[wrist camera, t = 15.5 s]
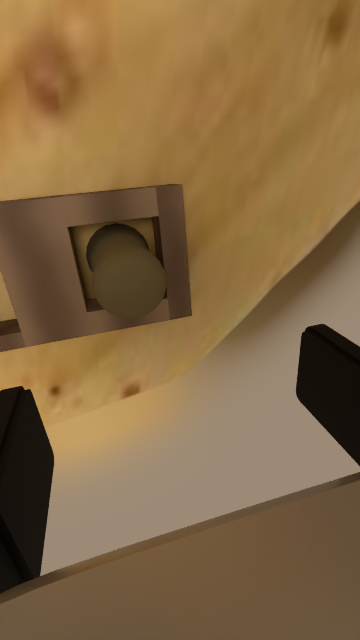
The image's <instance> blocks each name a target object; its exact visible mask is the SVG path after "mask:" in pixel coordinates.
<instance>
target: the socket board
mask: <svg viewBox="0 0 360 640" xmlns="http://www.w3.org/2000/svg"><path fill="white" fill-rule="evenodd" d="M146 217H152V222H153V230H154V239H155V248H156V256H157V259H158V260H159V261H160V263H161V265H162V267H163V269H164V271H165V276H166V289H165V294H164V296H163V298H162V301H161V303H160V304H159V305H158V306H157V307H156V308H155V309H154V310H153V311H152V312H150V313H149V314H147V315H145V316H143V317H139V318H135V319H123V318H120V317H117V316H114V315H112V314H110V313H109V312H108V311H106V310H105V309H104V308H103V307H102V306H101V305H100V304H99V302H98V301H97V299H96V298H93V299H87V298H86V294H85V289H84V285H83V280H82V276H81V271H80V267H79V262H78V258H77V253H76V249H75V245H74V240H73V236H72V231H71V226H80V225H88V224H96V223H104V222H113V221H121V220H129V219H138V218H146ZM0 270H1V273H2V276H3V279H4V282H5V285H6V288H7V291H8V294H9V297H10V300H11V303H12V306H13V309H14V312H15V315H16V318H17V319H12V320H7V321H1V322H0V352H3V351H8V350H13V349H18V348H24V347H29V346H34V345H40V344H45V343H50V342H55V341H61V340H66V339H71V338H77V337H82V336H87V335H92V334H98V333H103V332H108V331H114V330H119V329H124V328H129V327H135V326H140V325H145V324H151V323H156V322H161V321H166V320H172V319H177V318H182V317H187V316H192V310H191V297H190V283H189V270H188V256H187V243H186V229H185V216H184V203H183V189H182V185H180V184H168V185H158V186H148V187H138V188H129V189H119V190H109V191H99V192H89V193H79V194H69V195H59V196H49V197H39V198H29V199H19V200H9V201H0Z"/></svg>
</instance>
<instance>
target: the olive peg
mask: <svg viewBox="0 0 360 640" xmlns="http://www.w3.org/2000/svg"><path fill="white" fill-rule="evenodd" d="M86 258H87V261H88V265H89V268H90V269H91V271H92V272H93V279H92V288H93V291H94V295H95V298H96V299H97V301H98V302H99V304H100V305H101V306H102V307H103V308H104V309H105V310H106V311H108V312H109V313H110V314H112V315H114V316H117V317H120V318H123V319H135V318H139V317H143V316H145V315H147V314H149V313H150V312H152V311H153V310H154V309H155V308H156V307H157V306H158V305H159V304H160V303H161V301H162V298H163V296H164V294H165V289H166V276H165V271H164V269H163V267H162V265H161V263H160V261H159V260H158V259H157V258H156V257H155V256H154V255H153V254H152V253H151V252H149V249H148V244H147V242H146V241H145V239H144V237H143V235H141V234H140V233H139V232H138V231H137V230H136V229H135V228H133V227H130V226H128V225H126V224H118V223H114V224H109V225H105V226H104V227H102V228H100V229H98V230H97V231H96V232H95V233H94V234H93V236H92V237H91V238H90V240H89V243H88V246H87V253H86Z"/></svg>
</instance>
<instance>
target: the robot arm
mask: <svg viewBox="0 0 360 640" xmlns="http://www.w3.org/2000/svg"><path fill="white" fill-rule="evenodd" d="M296 395H297V397H298V399H299V401H300V402H301V403H302V404H303V405H304V406H305V407H306V408H307V409H308V410H309V412H310V413H311V414H312V415H313V416H314V417H315V418H316V419H317V420H318V421H319V422H320V424H321V425H322V426H323V427H324V428H325V429H326V430H327V431H328V432H329V433H330V434H331V435H332V437H333V438H334V439H335V440H336V441H337V442H338V443H339V444H340V445H341V446H342V447H343V448H344V449H345V451H346V452H347V453H348V454H349V455H350V456H351V457H352V458H353V459H354V460H355V461H356V463H358V465H359V466H360V347H359V346H358V345H356V344H354V343H353V342H351V341H350V340H348V339H347V338H345V337H344V336H342V335H341V334H339V333H337V332H336V331H334V330H333V329H331V328H330V327H328V326H326V325H324V324H319V325H314V326H309V327H307V328H306V330H305V332H303V333H302V336H301V346H300V355H299V365H298V376H297V385H296ZM53 467H54V455H53V451H52V448H51V445H50V442H49V439H48V436H47V434H46V431H45V428H44V425H43V422H42V420H41V417H40V414H39V411H38V408H37V406H36V403H35V400H34V397H33V394H32V392H31V390H30V389H27V390H24V388H23V387H22V386H19V387H14V388H9V389H4V390H1V391H0V640H360V472H358V473H355V474H352V475H349V476H346V477H343V478H339V479H336V480H333V481H329V482H326V483H323V484H320V485H317V486H313V487H310V488H307V489H304V490H301V491H298V492H294V493H291V494H288V495H285V496H282V497H279V498H275V499H272V500H269V501H266V502H263V503H259V504H256V505H253V506H250V507H247V508H244V509H241V510H237V511H234V512H231V513H228V514H225V515H222V516H219V517H215V518H213V519H209V520H206V521H203V522H200V523H197V524H194V525H191V526H188V527H185V528H181V529H178V530H175V531H172V532H169V533H166V534H163V535H160V536H157V537H154V538H151V539H147V540H144V541H141V542H138V543H135V544H132V545H129V546H126V547H123V548H120V549H117V550H114V551H111V552H108V553H105V554H102V555H99V556H96V557H93V558H90V559H88V560H84V561H81V562H79V563H76V564H73V565H70V566H67V567H64V568H61V569H58V570H55V571H53V572H50V573H48V574H45V575H43V576H40V572H41V564H42V556H43V548H44V540H45V532H46V524H47V516H48V508H49V500H50V492H51V483H52V476H53Z"/></svg>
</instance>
